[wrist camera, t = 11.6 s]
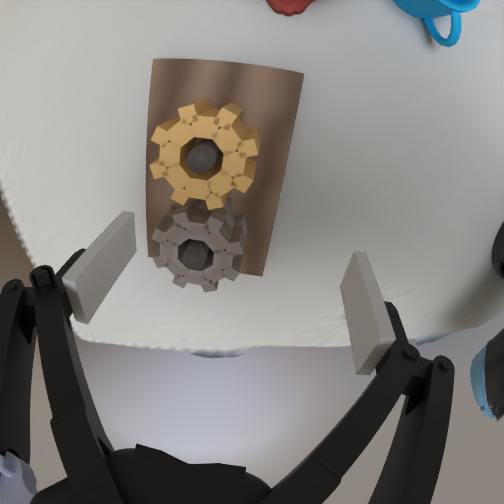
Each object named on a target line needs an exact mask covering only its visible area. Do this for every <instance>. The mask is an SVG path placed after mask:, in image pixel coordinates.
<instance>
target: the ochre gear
mask: <svg viewBox="0 0 504 504" xmlns="http://www.w3.org/2000/svg"><path fill="white" fill-rule="evenodd" d="M243 110H244V109H243V108H242V107H240V106H238V105H236V104H235V103H233V102H231V103H229V104H227V105H225V106H224V107H222V108H221V109H213V108H211V107H210V104H209V100H208V99H206V100H202V101H199V102H195V103H192V104H189V105H187V106H184V107H181V108H179V109H178V112H179V115H180V118H179V117H175V118H173V119H171V120H169V121H167V122H165V123H163V124H161V125H159V126H157V128H156V130H155V132H154V134H153V136H152V138H151V140H152V141H153V142H155V143H157V144H159V145H160V155H159V158H158V159H156V160H155V161H154V162H153V163H151V164H150V165H149V166H150V169H151V171H152V174H153V177H154V179H157V178H160V177H165V178H166V180H167V181H168V182H169V183H170V184H171V186H172V187H173V188H174V189H175V191H174V193H173V194H172V196H171V199H172V200H174V201H176V202H178V203H180V204H181V205H183V206H184V204H185V203H186V201H187V200H188V198H189V197H190V198H196V199H202V200H205V201H206V204H207V207H208V210H211V209H216V208H221V207H223V206H224V204H225V201H226V198H227V196H228V193H229V191H230V190H232V189H233V188H236V189H238V190H240V191H241V192H243V193H245V192H246V191H247V189H248V188H249V186H250V185H251V183H252V182H253V179H254V174H255V169H256V165H257V162H255V161H254V160H252V159H250V158H249V157H250V156H255V155H258V153H259V148H260V143H261V139H260V134H259V130H258V128H254V129H249V130H248V129H247V128H246V126H245V125H244V124H243V122H242V121H241V120H240V118H239V116H240V114H241V113H242V111H243ZM196 137H199V138H207V139H213V141H214V142H215V143H216V144H217V146H218V147H219V148H220V150H221V151H222V152H223V153H224V156H223V160H221V161H220V162H215V163H214V165H213V166H212V168H211V169H210V170H209V171H208V172H206V173H203V174H198V173H195V172H193V171H192V170H191V169H190V168H189V167H188V165H187V156H188V154H189V152H190V151H191V150H192V149H194V148H195V144H196Z"/></svg>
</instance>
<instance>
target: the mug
mask: <svg viewBox="0 0 504 504" xmlns="http://www.w3.org/2000/svg"><path fill="white" fill-rule="evenodd" d="M393 1H394V2H395V3H396V4H397V6H399V7H400V8H401V9H402V10H404V11H405V12H406V13H408V14H410V15H412V16H414V17H417V18H422V19H424V22H425V24H426V27H427V29H428V31H429V32H430V34H431V35H432V37H433V38H434V40H436V41H437V42H438V43H439V44H440V45H442V46H446V47H451V46H453V45H455V44H456V43H457V41H458V39H459V37H460V33H461V15H460V13H461V12H467V11H470V10H472V9H474V8H476V7H477V5H478V4H479V2H480V0H393ZM446 15H451V31H450V34H449V36H448V38H446V39H444V38H443V37H442V36H441V35H440V34H439V32H438V31H437V29H436V27H435V25H434V23H433V20H432V19H433V18H437V17H441V16H446Z"/></svg>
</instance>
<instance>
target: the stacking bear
mask: <svg viewBox="0 0 504 504" xmlns="http://www.w3.org/2000/svg"><path fill="white" fill-rule="evenodd" d="M266 1H267V2H268V4H269V5H270V6H271V8H272V9H273V10H274V11H275V12H277V13H283V14H284V15H286V16H292V15H293V14H300V13H302V12H303V11H304V10H305V9H306V8H307V7H308V5H309V4H310V3H312V2H313V1H315V0H266Z"/></svg>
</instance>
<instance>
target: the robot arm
mask: <svg viewBox="0 0 504 504" xmlns="http://www.w3.org/2000/svg"><path fill="white" fill-rule="evenodd" d="M136 251H137V250H136V237H135V222H134V213H132V212H125V211H123V212H122V213H121V214H120V215H119V216H118V217H117V218H116V219H115V220H114V221H113V222H112V223H111V224H110V225H109V226H108V227H107V228H106V229H105V230H104V231H103V232H102V233H101V234H100V235H99V236H98V237H97V239H96V240H95V241H94V242H93V243H92V244H91V245H90V246H89V247H88V248H87V249H83V248H82V249H80V250H79V251H77V252H75V253H74V254H73V255H72V256H71V257H70V258H69V260H68V261H67V262H66V263H65V264H64V265H63V266H62V267H61V269H60V270H59V271H58V272H57V273H56V274H54V271H53V268H52V267H51V266H48V265H42V266H39V267H36V268H35V269H34V270H32V272H31V273H30V276H29V278H30V281H31V283H32V286H33V287H24V285H23V282H22V281H21V280H19V279H13V280H10V281H9V282H7V283H6V284H5V285H4V287H3V289H2V291H1V294H0V503H1V504H322V503H323V502H324V501H325V500H326V499H327V498H328V497H329V496H330V495H331V493H332V492H333V491H334V490H335V489H336V488H337V486H338V485H339V484H340V482H341V478H342V477H343V475H344V474H345V473H346V472H347V470H348V469H349V468H350V467H351V466H352V464H353V463H354V462H355V461H356V459H357V458H358V457H359V455H360V454H361V453H362V452H363V450H364V449H365V448H366V446H367V445H368V444H369V442H370V441H371V439H372V438H373V437H374V435H375V434H376V432H377V431H378V429H379V428H380V427H381V425H382V424H383V422H384V421H385V419H386V418H387V416H388V415H389V413H390V411H391V410H392V408H393V407H394V405H395V404H396V402H397V400H398V399H399V397H400V395H401V394H403V395H406V397H405V401H404V404H403V408H402V412H401V416H400V419H399V422H398V426H397V429H396V432H395V436H394V439H393V442H392V445H391V448H390V450H389V453H388V456H387V459H386V462H385V464H384V467H383V470H382V472H381V475H380V477H379V480H378V482H377V485H376V487H375V489H374V492H373V494H372V496H371V499H370V501H369V503H368V504H430V503H431V499H432V496H433V493H434V490H435V486H436V483H437V479H438V475H439V471H440V467H441V462H442V458H443V454H444V449H445V443H446V438H447V432H448V427H449V419H450V413H451V405H452V395H453V385H454V372H455V370H454V365H453V363H452V362H451V361H450V360H449V359H448V358H447V357H445V356H442V355H441V356H437V357H436V358H435V359H434V360H433V361H431V360H428V359H425V358H423V357H420V353H419V351H418V350H417V349H416V348H415V347H414V346H413V345H411V344H409V343H408V340H407V337H406V334H405V331H404V328H403V325H402V324H401V323H402V322H401V319H400V318H399V314H398V311H397V309H396V308H395V306H394V305H393V304H392V303H391V302H385V301H384V300H383V297H382V295H381V292H380V289H379V286H378V283H377V281H376V278H375V275H374V273H373V270H372V267H371V265H370V262H369V260H368V257H367V255H366V253H364V252H359V251H354V252H353V255H352V258H351V260H350V263H349V265H348V268H347V270H346V273H345V275H344V278H343V280H342V283H341V285H340V290H341V294H342V299H343V304H344V309H345V314H346V319H347V325H348V330H349V335H350V341H351V346H352V352H353V359H354V365H355V371H356V374H359V375H360V374H361V375H370V374H371V373H372V371H373V370H374V369H376V374H377V375H376V376H375V378H374V379H373V380H372V381H371V383H370V384H369V385H368V386H367V388H366V389H365V391H364V392H363V393H362V395H361V396H360V397H359V398H358V400H357V401H356V402H355V404H354V405H353V406H352V407H351V408H350V409H349V411H348V412H347V413H346V414H345V415H344V417H343V418H342V419H341V420H340V421H339V423H338V424H337V425H336V426H335V427H334V428H333V429H332V430H331V431H330V433H329V434H328V435H327V436H326V437H325V438H324V439H323V440H322V441H321V442H320V443H319V444H318V446H317V447H316V448H315V449H314V450H313V451H312V452H311V453H310V454H309V455H308V456H307V457H306V458H305V459H304V460H303V461H302V462H301V463H300V464H299V465H298V466H297V467H296V468H294V469H293V470H292V471H291V472H290V473H289V474H288V475H287V476H286V477H285V478H283V479H282V480H281V481H280V482H279V483H278V484H277V485H275V486H274V487H273V488H272V489H271V488H270V487H269V486H268V485H267V484H266V483H265V482H264V481H262V480H261V479H259V478H258V477H256V476H254V475H252V474H250V473H247V472H246V467H242V466H234V465H227V464H221V463H212V464H211V463H210V464H188V463H185V462H183V461H181V460H179V459H177V458H175V457H173V456H171V455H169V454H167V453H165V452H163V451H161V450H157V449H153V448H150V447H147V446H143V445H140V444H136V448H129V449H128V448H127V449H120V450H116V451H114V449H113V447H112V445H111V443H110V441H109V440H108V438H107V436H106V434H105V431H104V429H103V426H102V424H101V421H100V419H99V416H98V413H97V411H96V408H95V405H94V403H93V400H92V397H91V394H90V391H89V388H88V385H87V381H86V378H85V375H84V372H83V368H82V365H81V361H80V358H79V354H78V350H77V346H76V342H75V338H74V334H73V330H72V325H71V321H70V319H69V317H70V316H71V314H72V313H73V314H74V317H75V320H76V321H79V322H82V323H85V324H88V323H89V322H90V320H91V319H92V317H93V315H94V314H95V312H96V311H97V309H98V307H99V306H100V304H101V303H102V301H103V300H104V298H105V297H106V295H107V294H108V292H109V290H110V289H111V287H112V286H113V284H114V283H115V281H116V280H117V279H118V277H119V276H120V274H121V273H122V271H123V270H124V268H125V267H126V265H127V264H128V263H129V261H130V260H131V258H132V257H133V255H134V254H135V253H136ZM492 262H493V266H494V269H495V270H496V272H497V273H498V274H499V276H500V277H501V278H502V279H503V280H504V224H503V225H502V227H501V229H500V231H499V233H498V235H497V237H496V240H495V243H494V247H493V253H492ZM37 335H38V343H39V351H40V357H41V364H42V370H43V375H44V380H45V385H46V390H47V395H48V399H49V403H50V407H51V411H52V416H53V418H52V419H51V420H50V424H51V429H52V432H53V435H54V439H55V442H56V445H57V449H58V452H59V455H60V457H61V460H62V463H63V466H64V469H65V471H66V474H67V477H66V478H65V479H63V480H61V481H59V482H57V483H55V484H53V485H51V486H49V487H47V488H45V489H43V490H41V491H39V492H38V491H37V489H36V483H37V481H36V478H35V476H34V473H33V470H32V469H31V467H30V466H29V463H30V396H31V395H30V394H31V380H32V368H33V359H34V350H35V343H36V336H37ZM470 377H471V385H472V389H473V393H474V396H475V399H476V402H477V404H478V406H480V408H481V412H482V413H483V414H484V415H485V416H486V417H487V418H495V417H496V419H497V422H498V424H500V425H504V328H503V329H502V330H501V331H500V332H499V333H498V334H497V335H496V336H495V337H494V338H493V339H492V340H490V341H488V343H487V344H486V346H485V347H484V348H483V349H482V350H481V351H480V352H479V353H478V354H477V355H476V356H475V358H474V359H473V361H472V365H471V370H470Z"/></svg>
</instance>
